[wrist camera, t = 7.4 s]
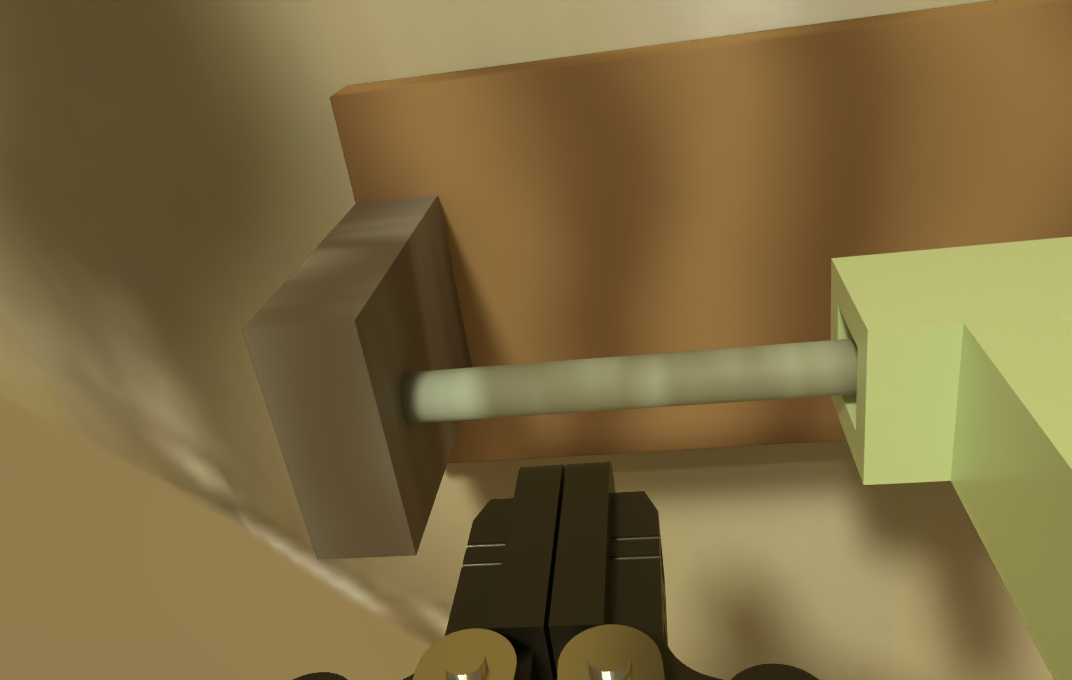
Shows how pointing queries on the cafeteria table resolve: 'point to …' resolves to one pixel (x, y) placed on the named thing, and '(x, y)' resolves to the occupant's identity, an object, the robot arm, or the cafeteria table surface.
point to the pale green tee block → (973, 401)
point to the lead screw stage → (640, 245)
